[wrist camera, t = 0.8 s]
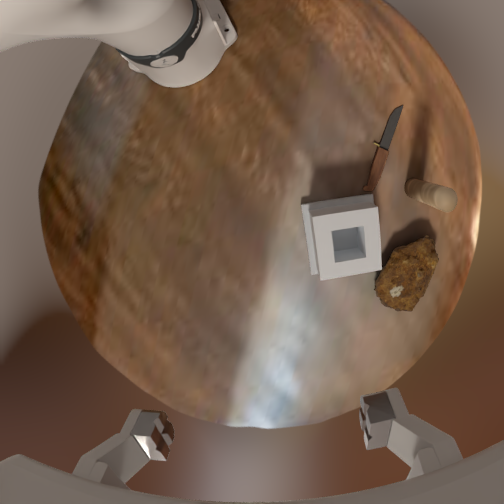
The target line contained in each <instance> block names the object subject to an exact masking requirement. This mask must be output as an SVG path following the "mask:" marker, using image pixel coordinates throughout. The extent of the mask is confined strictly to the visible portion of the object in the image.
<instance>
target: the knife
mask: <svg viewBox="0 0 504 504" xmlns="http://www.w3.org/2000/svg"><path fill="white" fill-rule="evenodd" d="M402 108H403V105H402V106H400V107H399V108H397V109H395V110H394V112H393V113H392V114H391V116H390V118H389V120H388V123H387V126H386V129H385V131H384V134H383V136H382V139H381V142H380V144H376V143H373V144H375V145H378V148H377V151H376V154H375V157H374V160H373V162H372V166H371V170H370V174H369V179H368V183H367V186H364V187H363V190H364V191H372V190H373V189H374V188H375V186H376V185H377V183H378V181H379V179H380V177H381V174H382V171H383V169H384V166H385V163H386V160H387V157H388V154H389V151H388V148H389V146H390V143H391V140H392V137H393V134H394V132H395V129H396V126H397V123H398V120H399V117H400V114H401V111H402Z"/></svg>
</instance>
